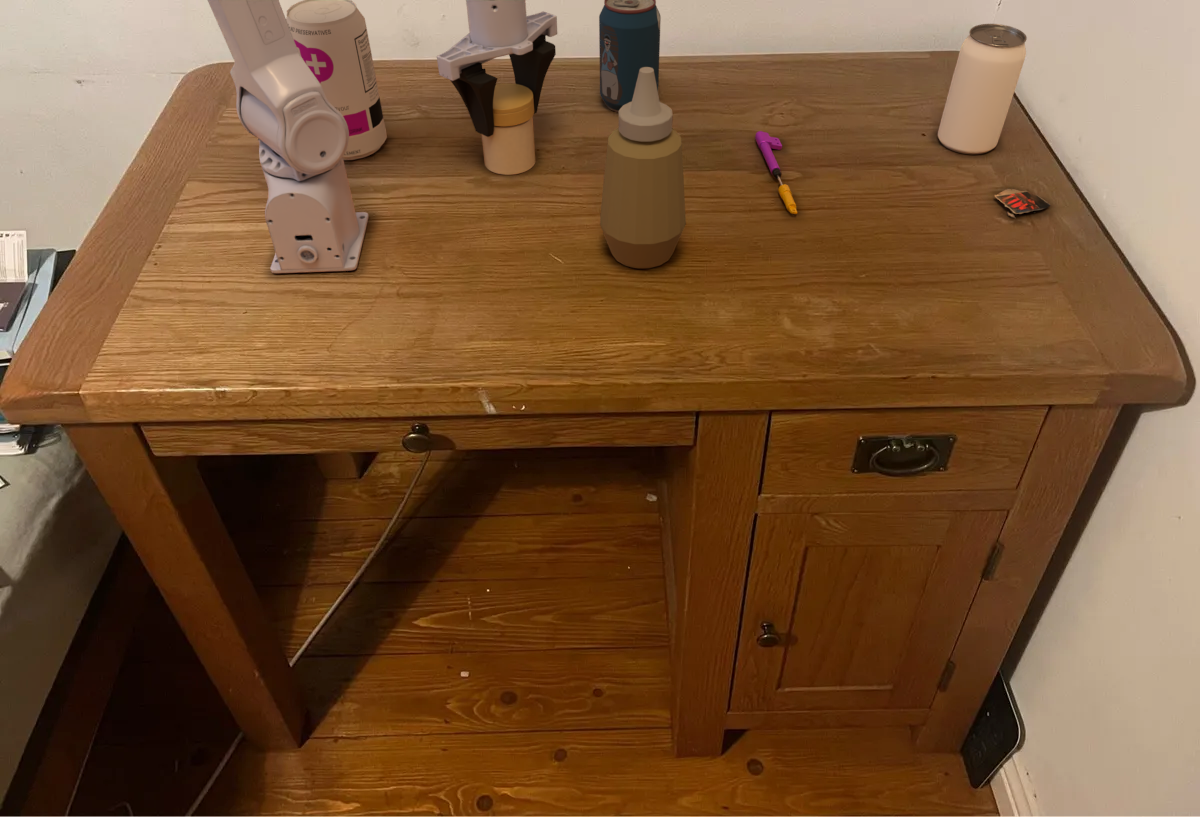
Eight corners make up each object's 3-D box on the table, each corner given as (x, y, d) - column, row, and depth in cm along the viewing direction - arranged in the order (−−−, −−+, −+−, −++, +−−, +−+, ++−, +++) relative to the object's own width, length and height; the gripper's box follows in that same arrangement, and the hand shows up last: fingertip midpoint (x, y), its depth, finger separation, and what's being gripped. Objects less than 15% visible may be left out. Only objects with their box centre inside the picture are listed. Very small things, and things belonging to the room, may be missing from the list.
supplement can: (348, 170, 99) (317, 32, 89) (299, 148, 103) (263, 12, 92) (403, 141, 104) (379, 6, 93) (353, 120, 107) (325, -12, 97)
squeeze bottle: (677, 282, 84) (689, 96, 72) (592, 272, 85) (588, 87, 73) (689, 233, 90) (701, 53, 77) (608, 224, 91) (607, 46, 78)
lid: (534, 126, 94) (533, 108, 93) (476, 128, 94) (474, 110, 93) (534, 99, 98) (533, 82, 97) (478, 100, 98) (476, 83, 97)
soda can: (662, 92, 112) (666, -9, 103) (651, 119, 107) (654, 15, 98) (607, 87, 113) (607, -14, 104) (593, 112, 108) (592, 9, 100)
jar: (535, 174, 98) (531, 112, 93) (483, 175, 98) (476, 114, 93) (535, 148, 102) (531, 88, 97) (485, 149, 102) (479, 89, 97)
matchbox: (1053, 206, 92) (1055, 202, 92) (1019, 222, 90) (1021, 217, 90) (1015, 186, 95) (1017, 182, 95) (982, 201, 93) (983, 197, 93)
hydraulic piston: (752, 137, 103) (786, 217, 92) (756, 128, 102) (790, 207, 91) (774, 141, 103) (811, 220, 92) (778, 132, 103) (815, 210, 91)
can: (990, 128, 104) (1023, 22, 96) (1002, 157, 100) (1038, 48, 91) (932, 126, 105) (960, 20, 96) (941, 154, 100) (971, 46, 92)
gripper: (466, 23, 82) (481, 160, 91) (577, -22, 89) (580, 109, 99) (415, 3, 85) (435, 137, 94) (526, -39, 93) (534, 89, 102)
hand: (506, 121), depth 97 cm, fingers closed on lid, 6 cm apart
